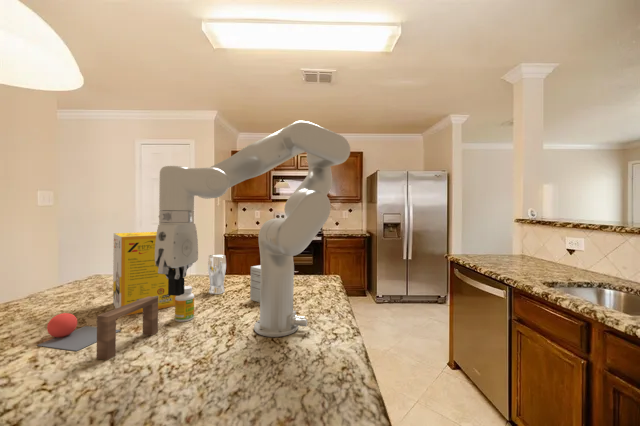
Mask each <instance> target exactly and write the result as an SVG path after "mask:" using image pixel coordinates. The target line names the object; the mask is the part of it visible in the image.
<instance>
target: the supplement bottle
mask: <svg viewBox="0 0 640 426" xmlns="http://www.w3.org/2000/svg"><path fill="white" fill-rule="evenodd" d="M194 318H195V294H194V293H193V287H192V286H191V285H184V294H182V295H180V296H176V297H175V306H174V320H175V321H176V322H188V321H191V320H193V319H194Z"/></svg>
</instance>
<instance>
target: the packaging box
mask: <svg viewBox="0 0 640 426" xmlns="http://www.w3.org/2000/svg"><path fill="white" fill-rule="evenodd" d="M156 235H157V231H145V232H144V231H142V232H139V231H138V232H118V233H117V232H115V233H113V254H112V255H113V260H112V262H113V265H112V266H113V267H112V268H113V271H112V272H113V275H112V279H113V281H112V284H113V285H112V298H113V299H112V304H113V306H114V309H116V308H119V307H122V306H124V305H127V304H130V303H132V302H135V301H138V300H140V299H143V298H146V297H149V296H150V297H158V310H161V309H166V308H171V307H175V297H176V296H174V295H169V294H168V279H167V278H166V275H165V274H158V268H159V267H157V266H156V264H155V243H156ZM173 270H174V269H173ZM140 313H143V308H141V309H139V310H136V311H134V312H132V313H129V314H127V315H124V316H129V315H136V314H140ZM124 316H123V317H124Z"/></svg>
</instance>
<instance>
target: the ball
mask: <svg viewBox="0 0 640 426" xmlns="http://www.w3.org/2000/svg"><path fill="white" fill-rule="evenodd" d="M77 326H78V318H77V317H76V316H75V315H74V314H72V313H68V312H63V313H59V314H56V315H55V316H53V317H52V318H51V319H50V320H49V321H48V322H47V327H46V330H47V333H48V334H49V335H50V336H51V337H53V338H56V337H65V336H67V335H69V334H71V333H72V332H73V331H74V330H76V328H77Z"/></svg>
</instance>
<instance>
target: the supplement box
mask: <svg viewBox="0 0 640 426" xmlns="http://www.w3.org/2000/svg"><path fill="white" fill-rule="evenodd" d="M260 274H261V264H258V265H253V266H250V284H249V285H250V288H249V289H250V297H249V298H250V300H251V301H254V302H256V303H259V304H260Z"/></svg>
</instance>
